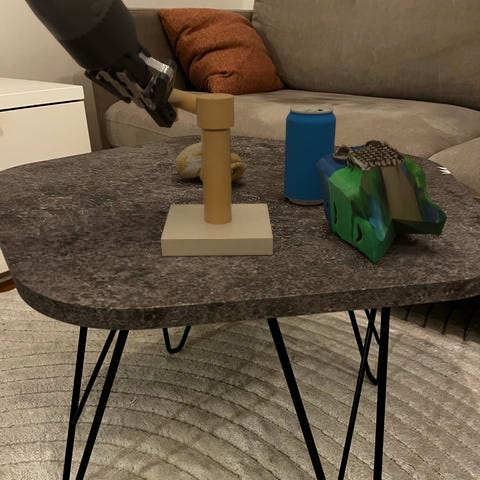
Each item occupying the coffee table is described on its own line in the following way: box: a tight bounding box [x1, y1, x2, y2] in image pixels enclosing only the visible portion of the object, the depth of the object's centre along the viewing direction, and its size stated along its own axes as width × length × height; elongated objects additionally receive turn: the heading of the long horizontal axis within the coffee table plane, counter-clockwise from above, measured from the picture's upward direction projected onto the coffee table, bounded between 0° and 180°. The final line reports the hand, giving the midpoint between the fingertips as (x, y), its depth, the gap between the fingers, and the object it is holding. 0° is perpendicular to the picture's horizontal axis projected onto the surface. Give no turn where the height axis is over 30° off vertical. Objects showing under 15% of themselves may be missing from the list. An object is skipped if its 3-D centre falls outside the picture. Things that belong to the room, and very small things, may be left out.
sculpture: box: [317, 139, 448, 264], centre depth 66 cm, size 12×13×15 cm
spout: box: [168, 88, 235, 129], centre depth 68 cm, size 16×4×4 cm, turn 28°
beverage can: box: [283, 104, 337, 206], centre depth 79 cm, size 6×6×12 cm
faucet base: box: [160, 128, 274, 257], centre depth 66 cm, size 12×12×12 cm
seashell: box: [174, 141, 247, 183], centre depth 90 cm, size 10×6×15 cm
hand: (168, 121), depth 72 cm, fingers closed
